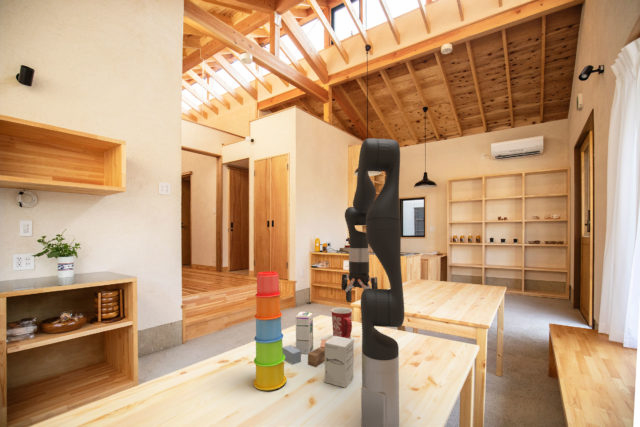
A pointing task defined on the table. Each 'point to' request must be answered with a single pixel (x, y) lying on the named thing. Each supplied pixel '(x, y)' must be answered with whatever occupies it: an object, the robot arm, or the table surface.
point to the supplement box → (339, 361)
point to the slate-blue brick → (292, 354)
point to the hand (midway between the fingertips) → (359, 303)
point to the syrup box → (304, 332)
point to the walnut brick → (316, 357)
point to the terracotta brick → (323, 343)
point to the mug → (342, 322)
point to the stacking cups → (268, 334)
